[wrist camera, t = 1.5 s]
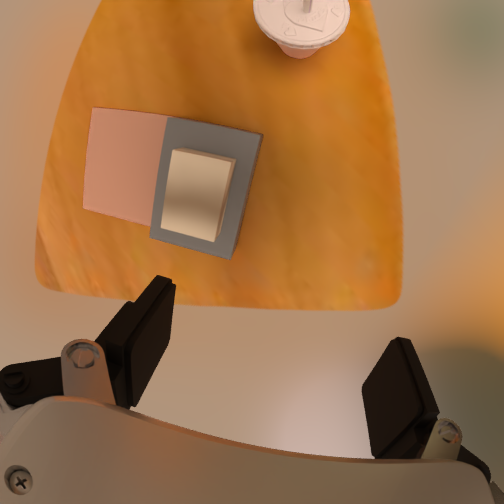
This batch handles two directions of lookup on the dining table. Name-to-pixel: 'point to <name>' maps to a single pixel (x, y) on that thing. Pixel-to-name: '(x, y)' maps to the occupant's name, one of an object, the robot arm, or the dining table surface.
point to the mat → (123, 163)
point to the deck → (246, 154)
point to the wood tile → (197, 193)
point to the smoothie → (302, 23)
